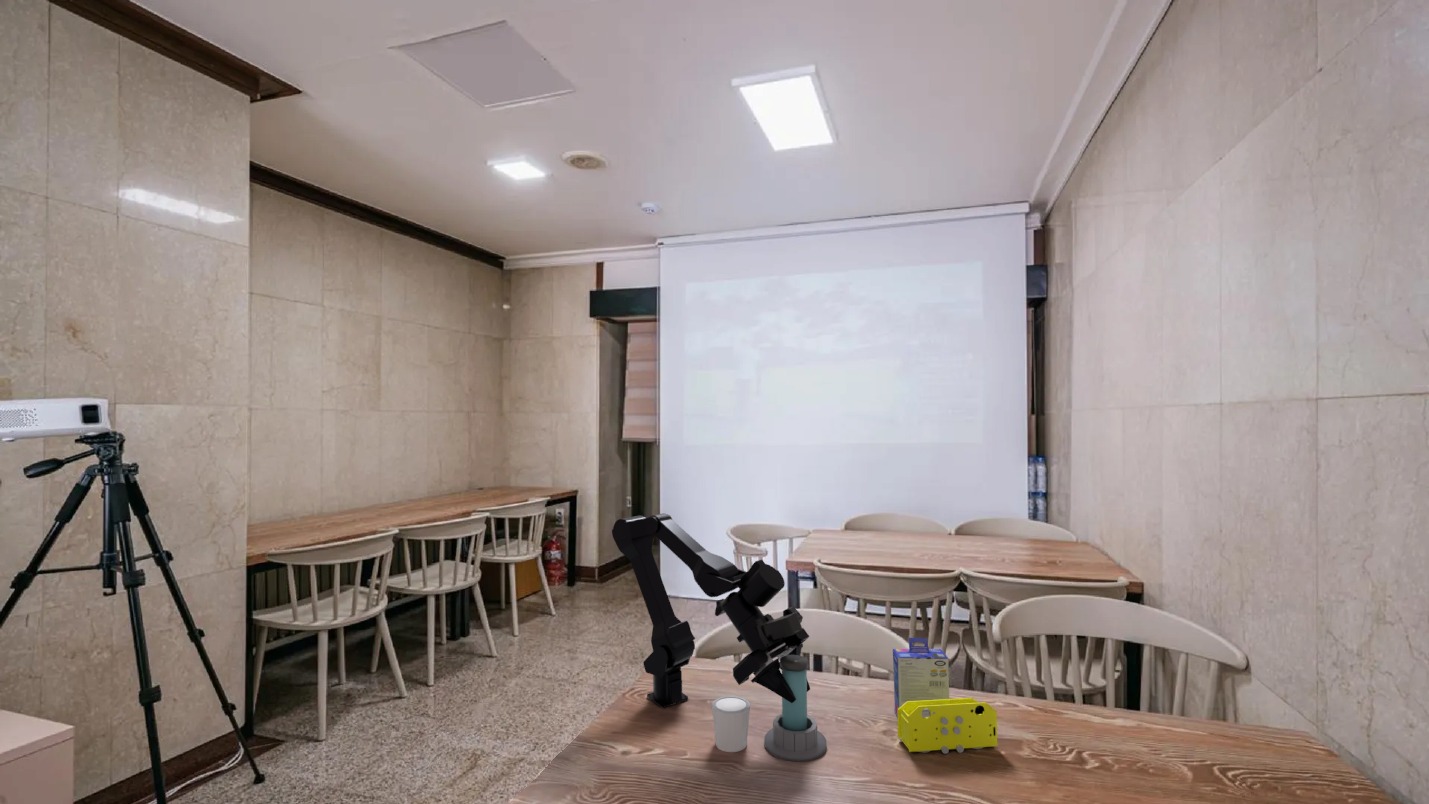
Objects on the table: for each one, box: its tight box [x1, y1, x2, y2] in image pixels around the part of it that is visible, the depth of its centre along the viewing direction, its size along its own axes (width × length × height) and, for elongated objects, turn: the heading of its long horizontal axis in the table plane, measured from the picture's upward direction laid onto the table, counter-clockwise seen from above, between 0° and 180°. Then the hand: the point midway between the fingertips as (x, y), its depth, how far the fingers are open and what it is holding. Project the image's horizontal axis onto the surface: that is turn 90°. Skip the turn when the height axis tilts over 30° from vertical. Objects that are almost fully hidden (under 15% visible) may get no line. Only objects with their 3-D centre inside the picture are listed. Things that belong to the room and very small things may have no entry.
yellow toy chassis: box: [897, 697, 998, 754], centre depth 107 cm, size 16×6×8 cm, turn 96°
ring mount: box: [763, 713, 828, 763], centre depth 107 cm, size 11×11×4 cm
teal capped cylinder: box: [779, 655, 809, 731], centre depth 108 cm, size 5×5×14 cm
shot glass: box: [711, 695, 751, 753], centre depth 108 cm, size 7×7×7 cm
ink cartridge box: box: [892, 637, 950, 719], centre depth 118 cm, size 10×6×14 cm, turn 86°
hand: (801, 696), depth 107 cm, fingers open, 5 cm apart
